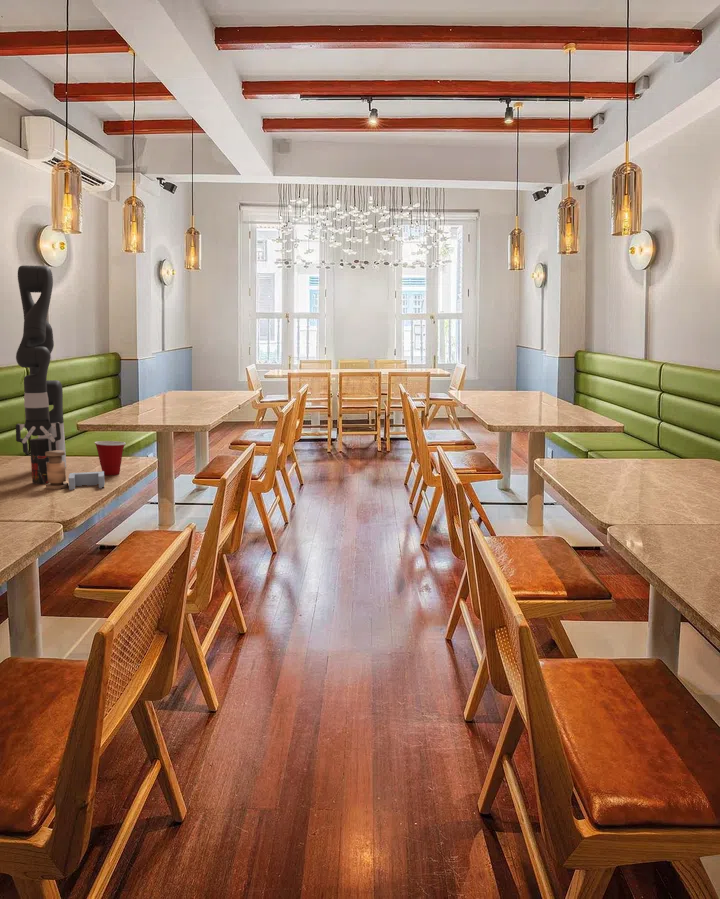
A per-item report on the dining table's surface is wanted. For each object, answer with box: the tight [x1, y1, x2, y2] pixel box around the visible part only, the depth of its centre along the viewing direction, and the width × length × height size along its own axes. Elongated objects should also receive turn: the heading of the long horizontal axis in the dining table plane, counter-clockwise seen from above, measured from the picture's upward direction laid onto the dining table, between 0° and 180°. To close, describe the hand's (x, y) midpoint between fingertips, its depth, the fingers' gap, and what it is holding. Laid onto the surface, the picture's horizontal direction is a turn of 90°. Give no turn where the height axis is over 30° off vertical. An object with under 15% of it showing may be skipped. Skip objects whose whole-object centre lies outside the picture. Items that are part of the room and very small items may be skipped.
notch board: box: [67, 470, 106, 491], centre depth 251 cm, size 9×11×4 cm
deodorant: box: [29, 437, 49, 485], centre depth 257 cm, size 6×6×15 cm
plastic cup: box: [94, 440, 126, 476], centre depth 272 cm, size 11×11×12 cm
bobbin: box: [45, 450, 69, 490], centre depth 249 cm, size 7×7×12 cm
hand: (39, 453), depth 256 cm, fingers open, 8 cm apart
